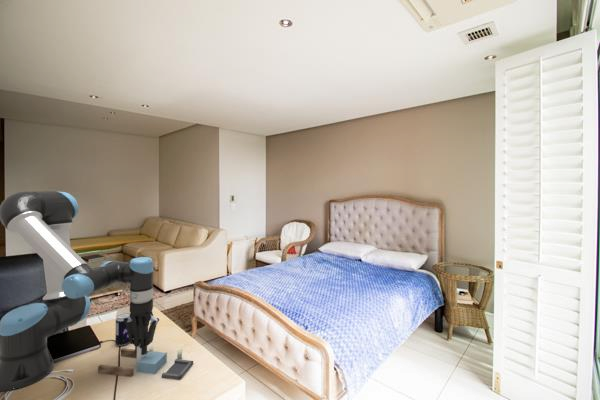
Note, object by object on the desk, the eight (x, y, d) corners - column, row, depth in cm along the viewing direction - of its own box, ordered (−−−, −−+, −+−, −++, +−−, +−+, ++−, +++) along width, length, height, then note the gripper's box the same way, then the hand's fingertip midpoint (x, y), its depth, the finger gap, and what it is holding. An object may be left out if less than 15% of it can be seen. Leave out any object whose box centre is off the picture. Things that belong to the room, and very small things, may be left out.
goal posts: (148, 356, 110) (148, 348, 110) (150, 353, 111) (150, 346, 111) (180, 359, 108) (180, 352, 108) (182, 357, 110) (182, 349, 110)
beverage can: (123, 347, 115) (123, 319, 115) (112, 345, 116) (112, 317, 116) (134, 340, 120) (134, 313, 120) (123, 338, 122) (123, 312, 121)
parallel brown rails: (98, 373, 99) (98, 366, 99) (122, 354, 110) (122, 348, 110) (131, 377, 98) (131, 370, 97) (152, 357, 109) (152, 351, 109)
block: (137, 372, 100) (137, 362, 100) (149, 361, 107) (149, 351, 107) (155, 375, 99) (155, 364, 99) (166, 362, 106) (166, 352, 106)
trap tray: (161, 377, 98) (161, 374, 98) (175, 362, 106) (176, 359, 106) (180, 379, 97) (180, 376, 97) (193, 364, 106) (193, 360, 106)
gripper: (117, 302, 100) (117, 366, 100) (151, 305, 98) (150, 370, 99) (132, 294, 107) (132, 354, 108) (164, 297, 105) (163, 357, 106)
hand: (141, 362), depth 103 cm, fingers closed
